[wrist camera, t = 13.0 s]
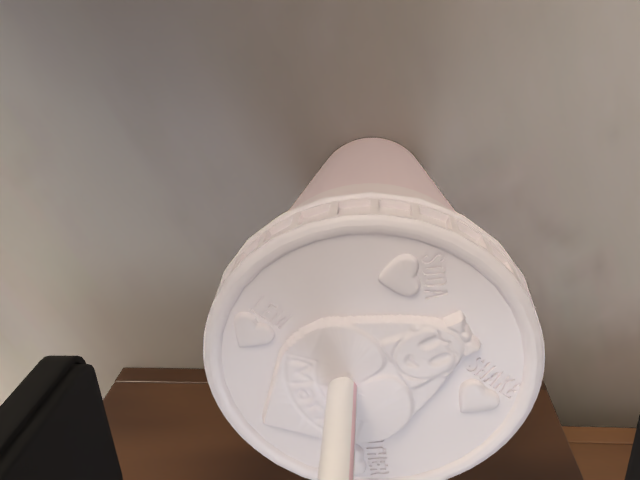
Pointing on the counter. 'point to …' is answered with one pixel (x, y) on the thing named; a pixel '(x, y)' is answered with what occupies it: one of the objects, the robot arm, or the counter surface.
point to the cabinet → (251, 466)
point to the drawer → (601, 450)
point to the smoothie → (373, 329)
